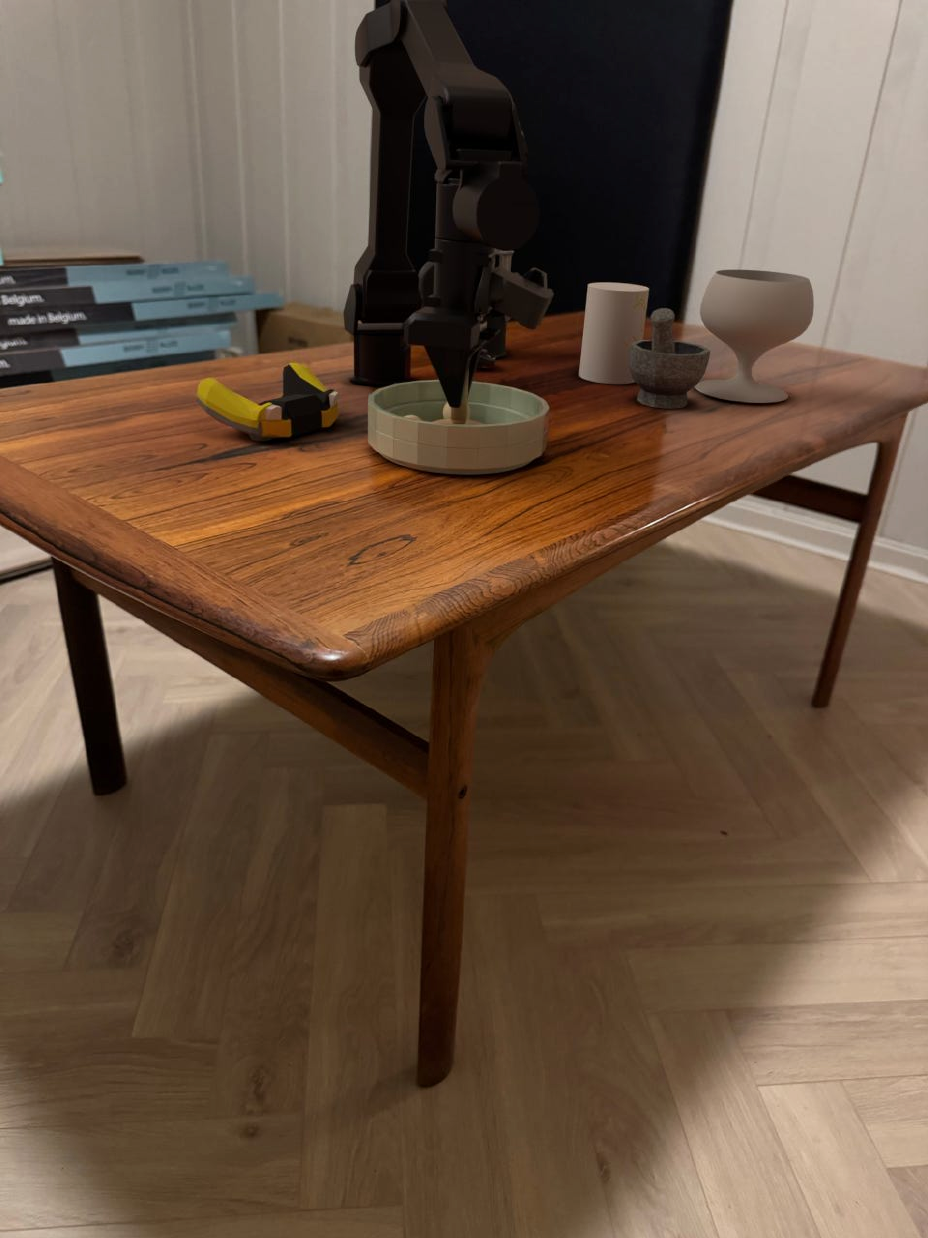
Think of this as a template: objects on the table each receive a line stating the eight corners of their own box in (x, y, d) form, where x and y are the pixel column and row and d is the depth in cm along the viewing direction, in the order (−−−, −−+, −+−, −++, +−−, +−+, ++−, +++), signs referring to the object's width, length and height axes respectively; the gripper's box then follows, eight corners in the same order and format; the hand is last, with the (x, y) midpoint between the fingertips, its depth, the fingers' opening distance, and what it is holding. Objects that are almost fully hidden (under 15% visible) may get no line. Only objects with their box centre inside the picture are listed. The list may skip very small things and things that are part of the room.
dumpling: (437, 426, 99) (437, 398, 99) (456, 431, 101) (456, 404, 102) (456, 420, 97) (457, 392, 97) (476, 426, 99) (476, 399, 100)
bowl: (342, 463, 89) (341, 412, 87) (400, 417, 105) (400, 373, 103) (525, 487, 86) (529, 435, 83) (557, 435, 101) (561, 390, 99)
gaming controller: (191, 430, 97) (254, 451, 91) (186, 378, 94) (250, 396, 89) (298, 406, 107) (359, 423, 102) (296, 358, 105) (359, 373, 100)
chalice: (676, 396, 120) (694, 275, 113) (699, 376, 131) (718, 265, 125) (786, 413, 115) (812, 287, 108) (801, 391, 126) (826, 275, 119)
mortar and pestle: (639, 389, 123) (651, 295, 117) (708, 400, 119) (724, 303, 114) (609, 406, 114) (621, 305, 109) (683, 419, 110) (699, 315, 105)
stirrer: (421, 445, 93) (424, 340, 88) (437, 430, 98) (441, 330, 93) (478, 453, 92) (484, 346, 87) (492, 437, 97) (498, 335, 92)
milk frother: (486, 345, 145) (492, 244, 138) (545, 366, 133) (554, 256, 126) (406, 351, 138) (408, 245, 131) (460, 374, 126) (465, 258, 119)
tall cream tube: (636, 386, 124) (648, 293, 119) (576, 380, 126) (585, 288, 120) (638, 373, 132) (649, 285, 126) (581, 368, 133) (590, 280, 127)
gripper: (531, 254, 76) (517, 438, 84) (566, 237, 93) (552, 392, 100) (403, 244, 79) (400, 424, 86) (459, 229, 95) (452, 381, 102)
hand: (458, 404), depth 93 cm, fingers closed
